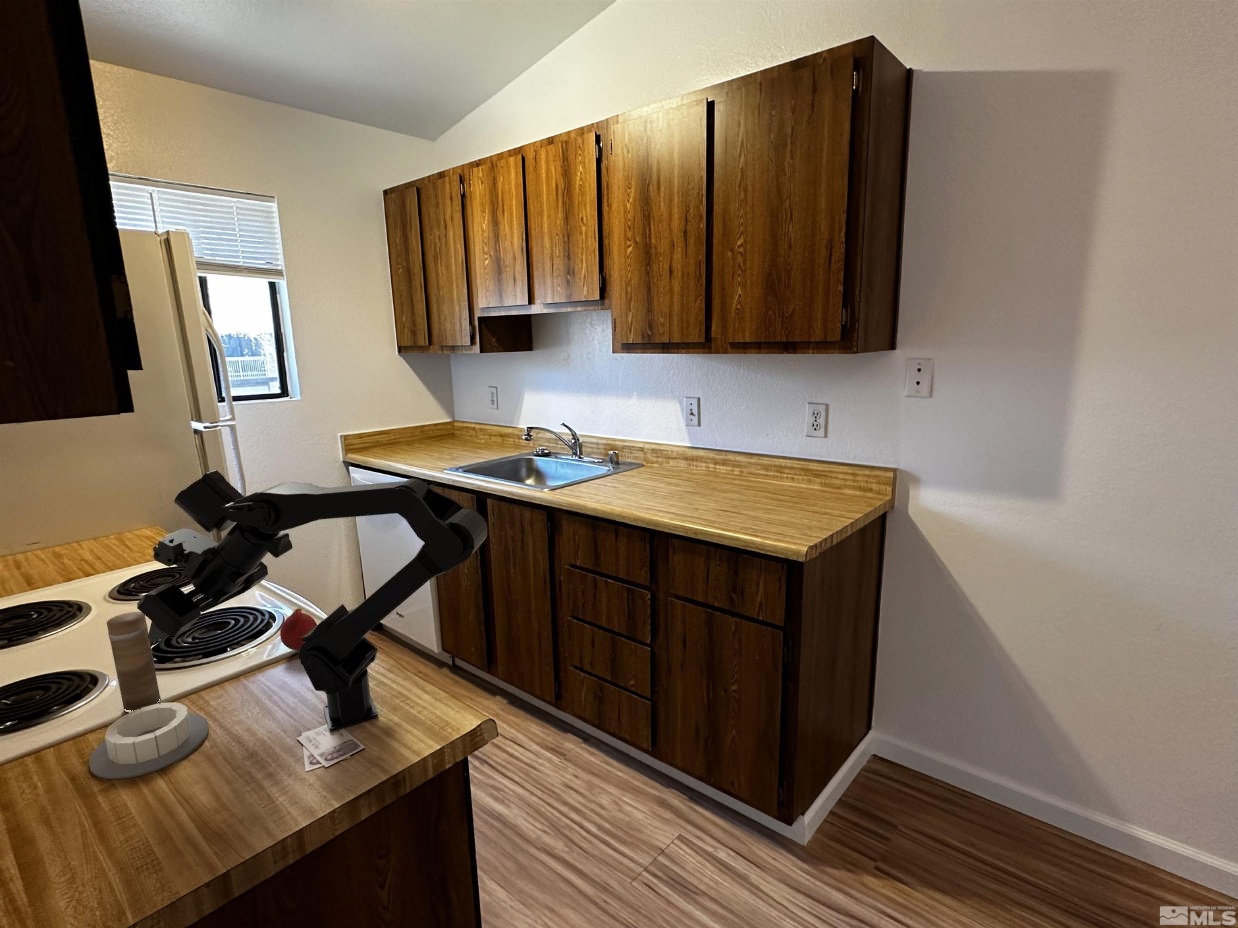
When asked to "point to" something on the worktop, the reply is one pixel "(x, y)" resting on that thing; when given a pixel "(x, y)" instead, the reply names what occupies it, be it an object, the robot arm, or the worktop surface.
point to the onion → (296, 629)
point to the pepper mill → (133, 660)
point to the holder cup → (148, 741)
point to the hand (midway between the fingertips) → (176, 623)
